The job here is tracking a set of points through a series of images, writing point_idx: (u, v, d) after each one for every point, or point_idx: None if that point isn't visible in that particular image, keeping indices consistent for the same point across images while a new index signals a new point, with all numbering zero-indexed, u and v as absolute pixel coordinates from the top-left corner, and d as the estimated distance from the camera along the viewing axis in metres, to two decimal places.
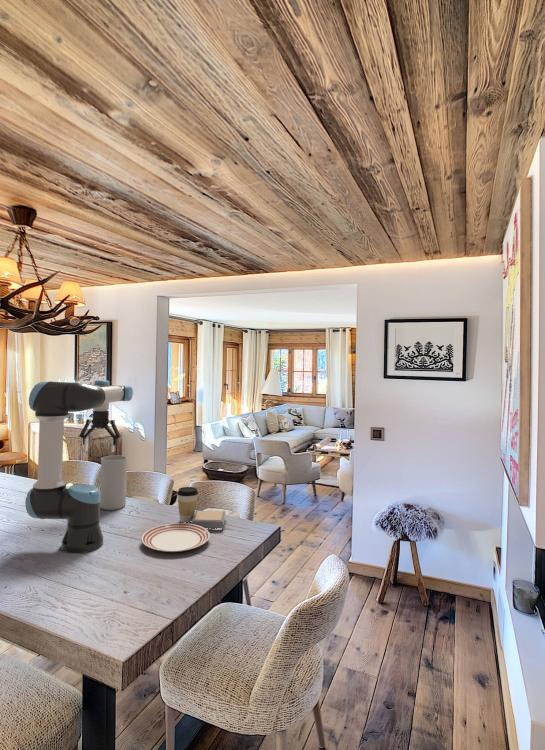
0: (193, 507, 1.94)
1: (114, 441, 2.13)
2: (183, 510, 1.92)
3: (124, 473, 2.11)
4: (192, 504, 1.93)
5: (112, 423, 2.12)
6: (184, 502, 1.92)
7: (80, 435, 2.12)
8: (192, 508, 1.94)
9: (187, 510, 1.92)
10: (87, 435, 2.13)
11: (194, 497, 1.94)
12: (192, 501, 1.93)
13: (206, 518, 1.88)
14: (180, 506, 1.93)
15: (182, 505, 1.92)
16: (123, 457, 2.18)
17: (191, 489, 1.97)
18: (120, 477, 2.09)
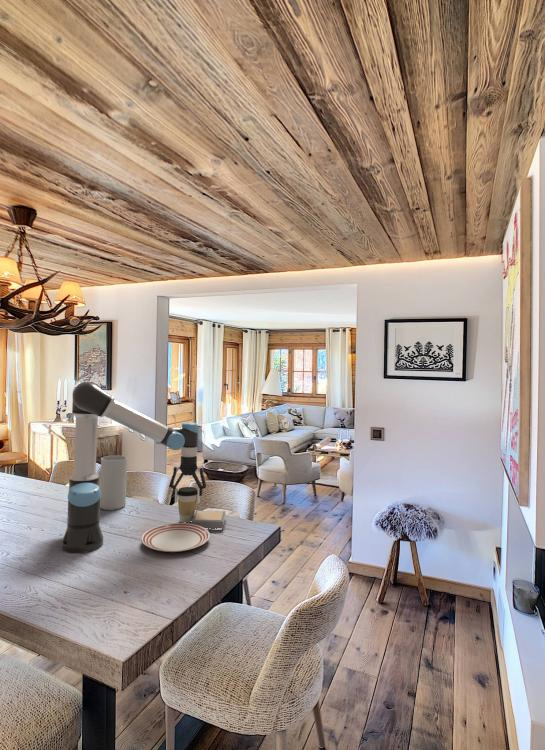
0: (193, 507, 1.94)
1: (200, 491, 1.96)
2: (183, 510, 1.92)
3: (124, 473, 2.11)
4: (192, 504, 1.93)
5: (201, 471, 1.95)
6: (184, 502, 1.92)
7: (170, 485, 1.94)
8: (192, 508, 1.94)
9: (187, 510, 1.92)
10: (177, 484, 1.95)
11: (194, 497, 1.94)
12: (192, 501, 1.93)
13: (206, 518, 1.88)
14: (180, 506, 1.93)
15: (182, 504, 1.92)
16: (123, 457, 2.18)
17: (191, 489, 1.97)
18: (120, 477, 2.09)
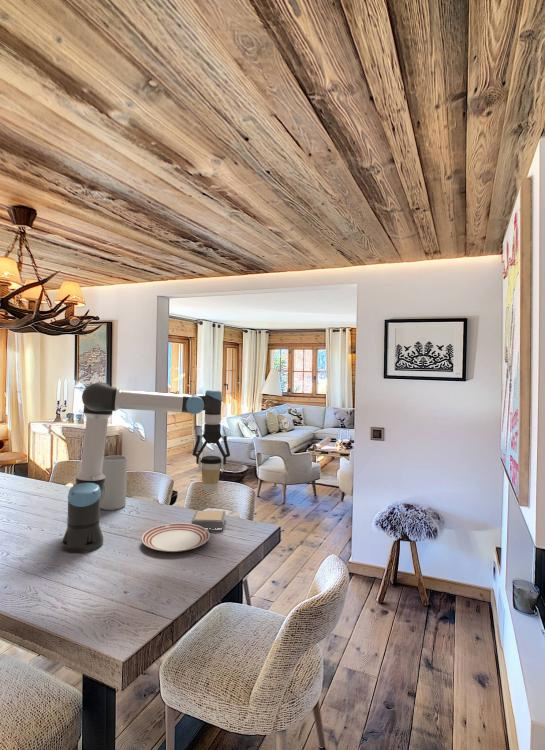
0: (217, 475, 1.90)
1: (224, 460, 1.92)
2: (207, 479, 1.89)
3: (124, 473, 2.11)
4: (216, 472, 1.90)
5: (225, 439, 1.91)
6: (208, 470, 1.88)
7: (193, 453, 1.91)
8: (216, 476, 1.90)
9: (211, 478, 1.89)
10: (200, 453, 1.92)
11: (218, 465, 1.90)
12: (216, 469, 1.89)
13: (206, 518, 1.88)
14: (204, 474, 1.89)
15: (206, 473, 1.89)
16: (123, 457, 2.18)
17: (215, 458, 1.93)
18: (120, 477, 2.09)
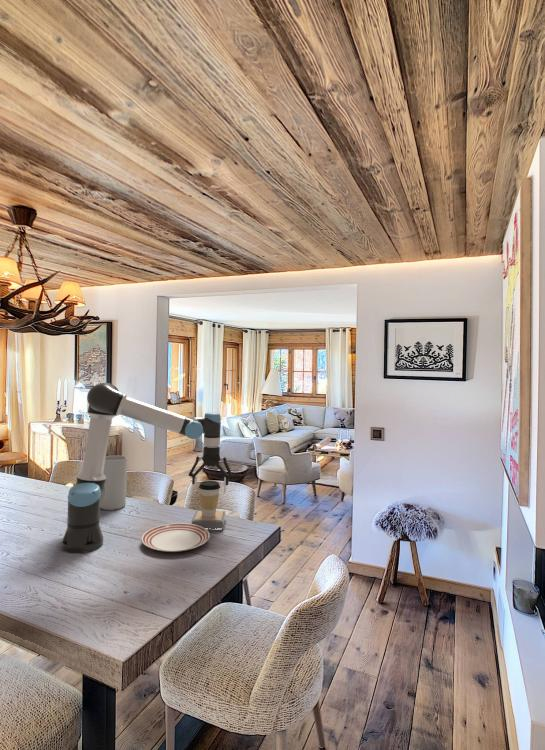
0: (215, 501, 1.90)
1: (226, 480, 1.92)
2: (206, 505, 1.89)
3: (124, 473, 2.11)
4: (214, 498, 1.89)
5: (225, 461, 1.91)
6: (206, 496, 1.88)
7: (189, 474, 1.91)
8: (214, 502, 1.90)
9: (209, 504, 1.89)
10: None
11: (216, 491, 1.90)
12: (214, 495, 1.89)
13: (206, 518, 1.88)
14: (202, 500, 1.89)
15: (205, 499, 1.89)
16: (123, 457, 2.18)
17: (213, 483, 1.93)
18: (120, 477, 2.09)
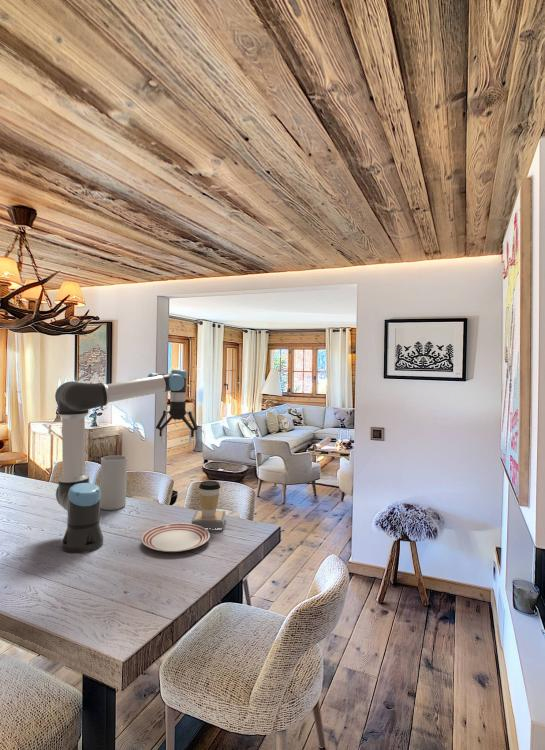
0: (215, 501, 1.90)
1: (192, 433, 2.05)
2: (206, 504, 1.89)
3: (124, 473, 2.11)
4: (214, 498, 1.89)
5: (190, 414, 2.05)
6: (206, 496, 1.88)
7: (157, 427, 2.04)
8: (214, 502, 1.90)
9: (209, 504, 1.89)
10: None
11: (216, 491, 1.90)
12: (214, 495, 1.89)
13: (206, 518, 1.88)
14: (202, 500, 1.89)
15: (205, 498, 1.89)
16: (123, 457, 2.18)
17: (213, 483, 1.93)
18: (120, 477, 2.09)
